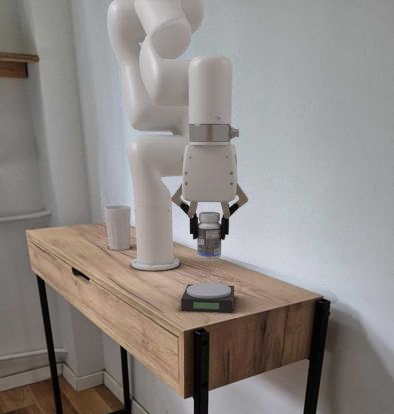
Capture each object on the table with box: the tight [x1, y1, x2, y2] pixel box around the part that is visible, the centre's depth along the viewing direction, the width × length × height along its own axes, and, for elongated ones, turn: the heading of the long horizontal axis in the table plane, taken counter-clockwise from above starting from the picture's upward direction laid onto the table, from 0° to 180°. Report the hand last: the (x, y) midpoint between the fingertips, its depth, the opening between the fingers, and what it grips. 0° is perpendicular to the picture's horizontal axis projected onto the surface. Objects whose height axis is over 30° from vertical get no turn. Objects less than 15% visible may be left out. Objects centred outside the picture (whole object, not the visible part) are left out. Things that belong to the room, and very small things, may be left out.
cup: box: [103, 204, 132, 251], centre depth 146 cm, size 8×8×12 cm
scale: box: [180, 282, 235, 313], centre depth 99 cm, size 10×10×3 cm
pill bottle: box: [196, 211, 222, 260], centre depth 94 cm, size 5×5×8 cm
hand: (209, 237), depth 94 cm, fingers closed on pill bottle, 4 cm apart
